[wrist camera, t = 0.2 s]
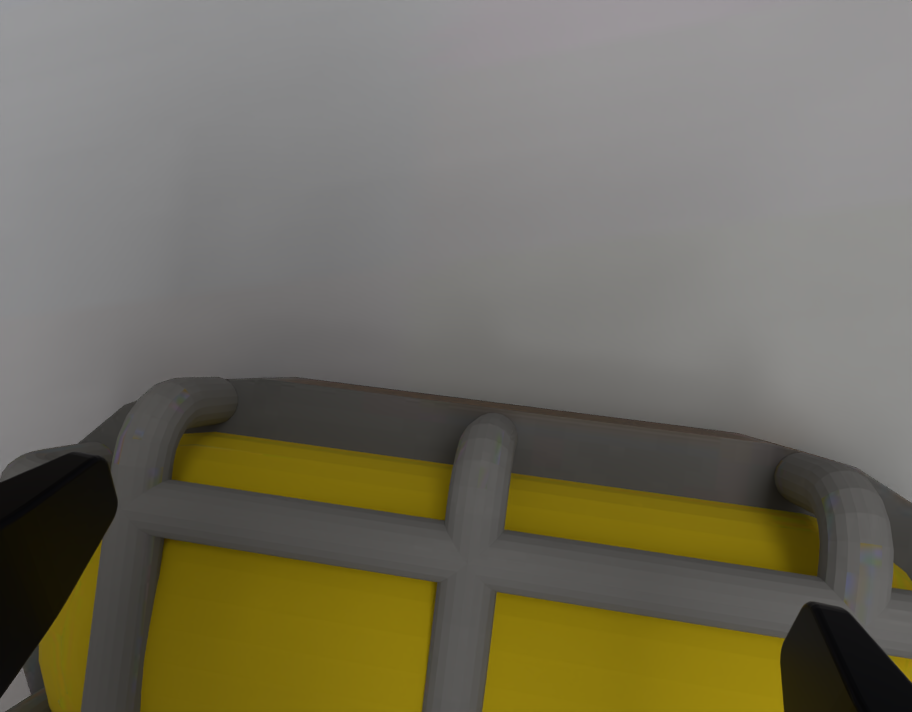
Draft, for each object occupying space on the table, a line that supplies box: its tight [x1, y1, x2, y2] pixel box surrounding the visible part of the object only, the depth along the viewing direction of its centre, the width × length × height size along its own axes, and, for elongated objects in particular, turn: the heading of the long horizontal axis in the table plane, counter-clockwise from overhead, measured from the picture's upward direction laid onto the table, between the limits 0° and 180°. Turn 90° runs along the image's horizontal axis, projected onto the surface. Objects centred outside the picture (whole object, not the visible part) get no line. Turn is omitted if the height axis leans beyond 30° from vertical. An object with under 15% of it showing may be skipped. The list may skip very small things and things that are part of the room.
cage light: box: [0, 377, 912, 712], centre depth 20 cm, size 15×8×30 cm
